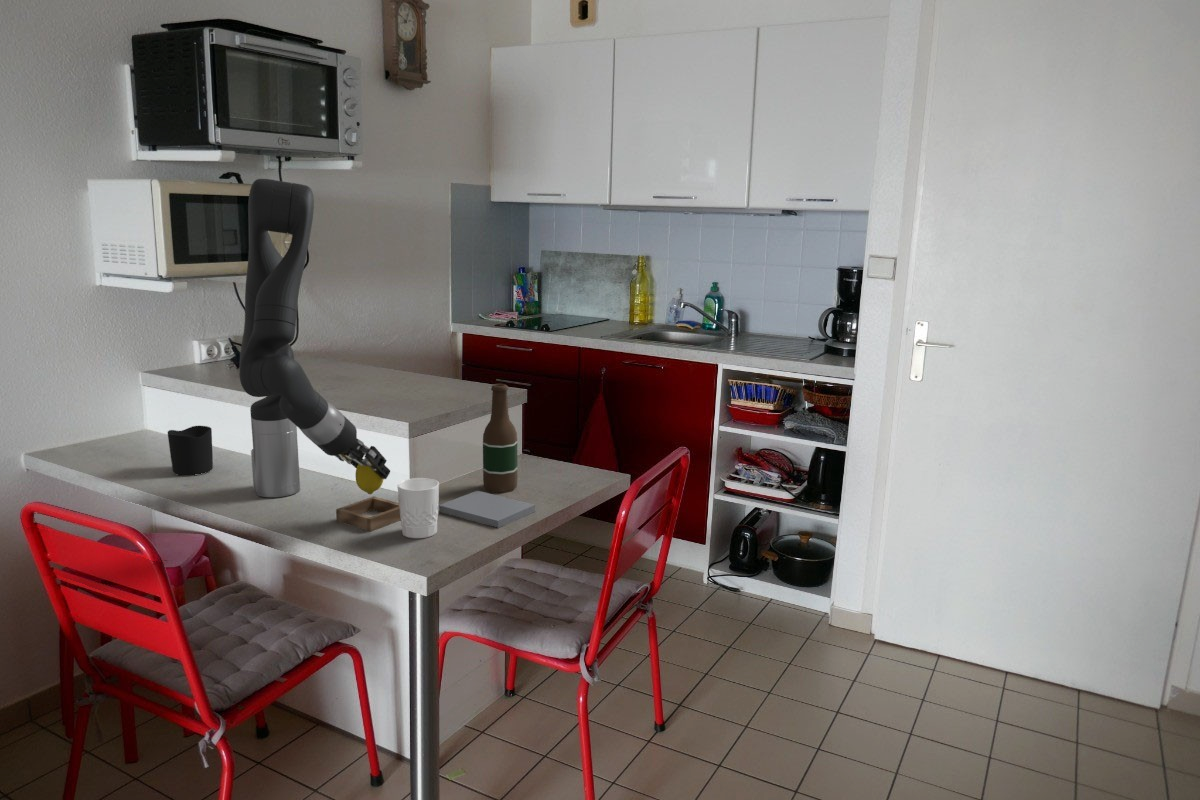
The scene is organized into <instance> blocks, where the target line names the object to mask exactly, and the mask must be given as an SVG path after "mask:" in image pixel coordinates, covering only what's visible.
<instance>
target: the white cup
mask: <svg viewBox="0 0 1200 800" xmlns="http://www.w3.org/2000/svg"><path fill="white" fill-rule="evenodd" d="M439 493H440V482H439V481H438V480H437V479H433V478H427V477H413V478H408V479H403V480H402V481H400V482H398V483H397V494H398V503H399V508H400V519H401V520H400V522H401V530H402V535H403V536H405V537H406V538H409V539H424V538H425V539H426V538H429V537H432V536H435V535H436V534H437V532H438V519H439V505H440V504H439V502H440V500H439V498H440V496H439V495H440V494H439Z"/></svg>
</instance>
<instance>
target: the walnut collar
mask: <svg viewBox="0 0 1200 800" xmlns="http://www.w3.org/2000/svg"><path fill="white" fill-rule="evenodd" d="M376 510H377V512H380V511H381V512H380V513H378V514H375V515H372V516H369V515H366V513H369V512H371V511H376ZM335 514H336V518H335V519H336V522H338V521H339V523H341V524H345V525H348V524H349V526H352V527H355V528H358V529H362V530H365V531H369V532H374V531H376V530H378V529H381V528H384V527H386V526H389V525H391V523H392V524H394V523H396V522H399V521H401V519H400V508H399V502H396V501H393V500H388V499H384V498H383V497H382V498H381V497H377V496H374V495H373V496H371V497H368V498H364V499H361V500H358V501H356V502H353V503H350V504H348V505H345V506H342V507H341V506H340V507H339V508H336V509H335Z"/></svg>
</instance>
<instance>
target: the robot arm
mask: <svg viewBox="0 0 1200 800" xmlns="http://www.w3.org/2000/svg"><path fill="white" fill-rule="evenodd" d="M313 193H314V192H313V190H312V188H311V187H310V186H309V185H306V184H302V183H295V182H288V181H282V180H275V179H269V178H257V179H255V180H254V181H253V183H252V184H251V187H250V189H249V194H248V203H247V204H248V206H247V207H248V208H247V209H248V213H247V214H248V221H247V222H248V258H247V259H248V260H247V268H246V277H245V278H246V279H245V292H244V293H245V294H244V327H243V333H242V334H243V335H242V341H241V345H240V353H239V364H238V365H239V375H238V376H239V381H240V384H241V387H242V389H243V391H244V392H245V393H246V394H247V395H249V396H251V397H254V398H260V399H259V400H257V401H255V402H253V403H252V404H251V405H250V422H251V423H250V424H251V425H250V427H251V437H252V439H251V440H252V449H251V450H250V455H251V469H252V484H253V491H255V493H256V495H258V496H259V497H263V498H283V497H287V496H291V495H294V494H296V493H299V492H300V490H301V481H300V463H299V461H300V460H299V446H298V429H299V430H300V431H301V432H302V433H303V435H304V436H305V437H306V438H307V439H308V440H310V441H311V442H312V443H313V444H314V445H315V446H317V447H318V448H319V449H320V450H322V452H324V454H326V455H328V456H332V457H333V456H334V457H335V458H337V459H338V460H339V461H341V462H346V463H347V465H351V466H352V467H354V468H355V469H356V468H357V466H358V464H360V465H361V466H367V467H369V468H370V469H372V470H373V471H374V472H375V473H376V474H377V475H379V476H380V477H381V478H382V479H383V480H387V478H388V477H389V476H390V474H391V470H390V469H389V468H388V466H387V465H385V464H386V463H387V459H386V458H385V457H384V456H383V454H382V453H381V452H380V451H379V449H377V447H376V446H373V445H371V446H370V447H368V446H367V445H365V444H364V441H362V440H361V439H359V438H358V437H357V436H358V434H357V433H358V432H357V428H356V426H355V425H354V424H353V423H352V422H351V421H350V419H348V418H347V417H346V416H345V415H344V414H343V413H342V412H341V411H340V410H339V409H337V408H336V407H335V406H334V405H333V404H332V403H330V402H328V401H327V400H326V399H325V398H324V397H323V396H322V395H321V394H320V393H319V392H318V391H317V390H316V389H314V387H313V385H312V383H311V381H310V380H309V377H308V376H307V374H306V372H305V370H304V369H303V367H302V366H301V364H300V362H298V361H297V360H296V359H295V356H294V354H295V353H294V350H293V348H292V346H291V345H290V344H291V343H292V342H293V341H294V338H295V335H296V328H297V314H298V302H299V301H298V300H299V295H300V294H299V293H300V287H301V283H302V279H303V273H304V269H305V264H306V259H307V254H308V248H309V244H310V237H311V231H312V225H313V219H314V208H315V206H314V205H315V204H314V202H315V199H314V194H313ZM269 232H273V233H280V234H287V235H288V234H289V235H292V237H291V241H290V244H289V247H288V249H287V251H286V253H285V254H284V256H282V255H281V254H280V252H279V251H278V250H277V248H276V247H275V245H274V243H273V241H272V239H271V236H270V233H269ZM363 459H364V460H363ZM362 460H363V461H362ZM369 462H370V463H371V464H370V463H369Z"/></svg>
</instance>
